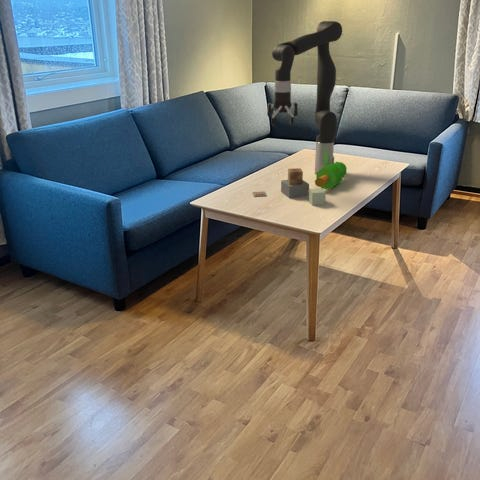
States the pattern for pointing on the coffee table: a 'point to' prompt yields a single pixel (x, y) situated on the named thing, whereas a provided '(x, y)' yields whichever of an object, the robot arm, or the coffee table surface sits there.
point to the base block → (294, 189)
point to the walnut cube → (295, 176)
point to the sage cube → (317, 196)
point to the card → (259, 194)
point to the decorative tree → (330, 175)
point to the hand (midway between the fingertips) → (282, 125)
